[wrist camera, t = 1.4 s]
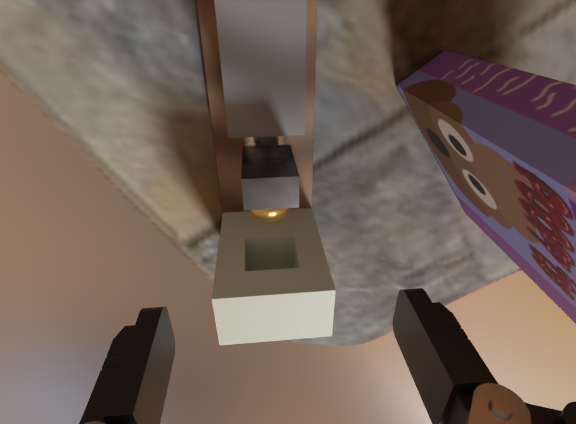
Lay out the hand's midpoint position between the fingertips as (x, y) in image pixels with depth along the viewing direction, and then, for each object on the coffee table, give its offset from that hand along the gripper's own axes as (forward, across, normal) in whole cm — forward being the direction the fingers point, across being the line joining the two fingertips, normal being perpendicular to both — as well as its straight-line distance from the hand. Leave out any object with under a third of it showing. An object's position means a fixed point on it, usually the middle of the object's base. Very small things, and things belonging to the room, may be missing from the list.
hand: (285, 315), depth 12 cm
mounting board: (+23, 0, +2) cm, 23 cm away
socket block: (+23, 0, +12) cm, 26 cm away
